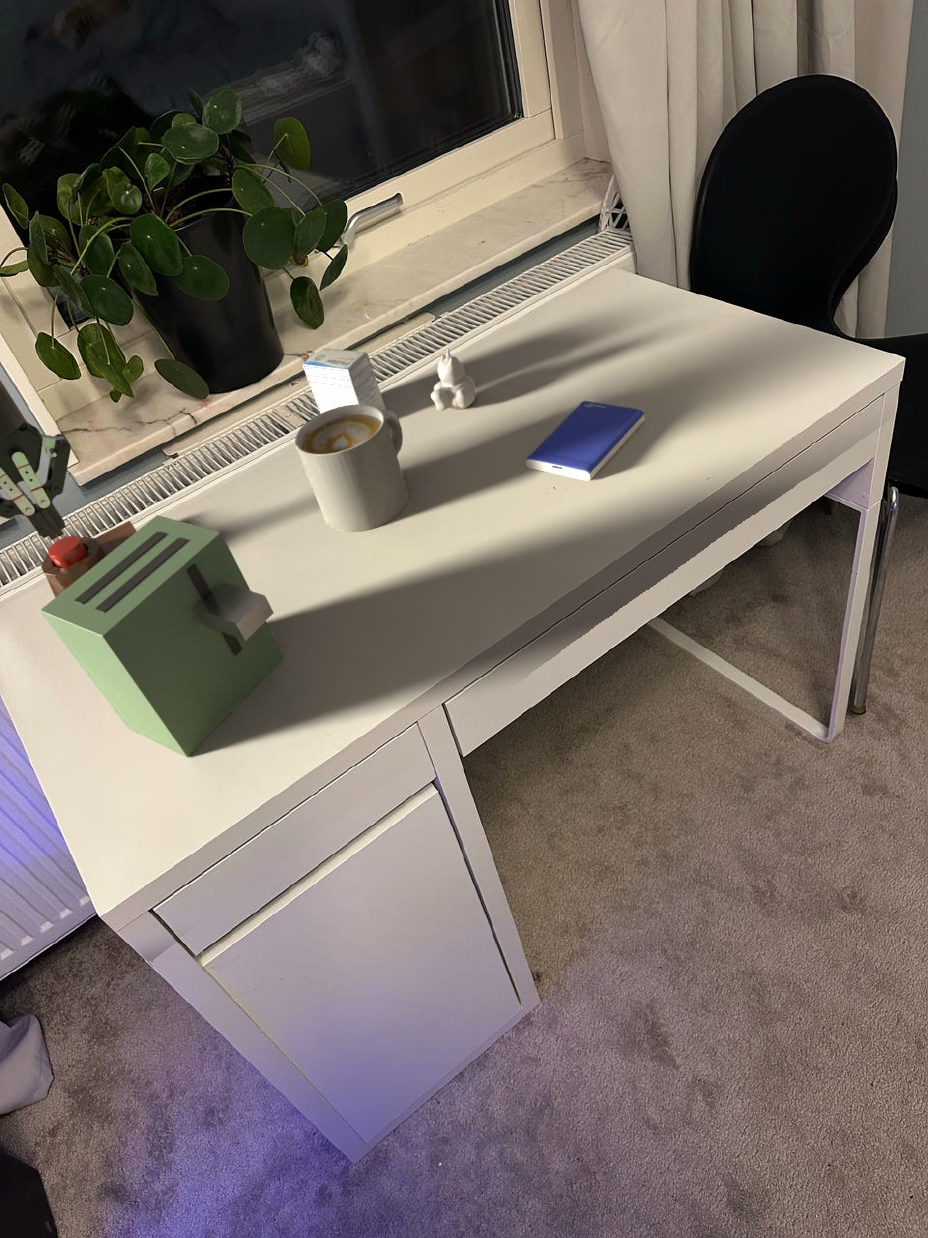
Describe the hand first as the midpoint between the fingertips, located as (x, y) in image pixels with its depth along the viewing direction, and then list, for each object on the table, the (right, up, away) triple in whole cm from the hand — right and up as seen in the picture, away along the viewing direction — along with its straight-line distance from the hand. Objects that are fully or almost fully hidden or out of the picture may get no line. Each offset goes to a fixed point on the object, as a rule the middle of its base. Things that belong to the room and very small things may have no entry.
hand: (56, 534), depth 92 cm
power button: (+1, -2, +2) cm, 3 cm away
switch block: (+3, -4, +5) cm, 7 cm away
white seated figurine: (+44, +18, +16) cm, 50 cm away
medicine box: (+30, +17, +20) cm, 40 cm away
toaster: (+21, -16, -13) cm, 29 cm away
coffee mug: (+35, +5, +5) cm, 35 cm away
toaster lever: (+26, -9, -22) cm, 35 cm away
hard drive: (+58, +10, +3) cm, 60 cm away
